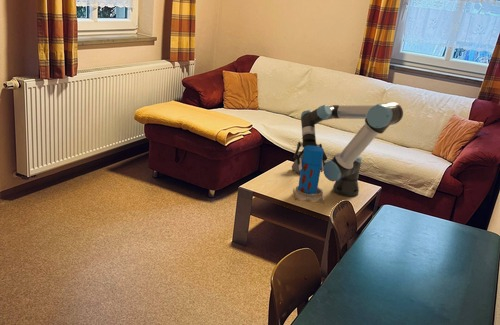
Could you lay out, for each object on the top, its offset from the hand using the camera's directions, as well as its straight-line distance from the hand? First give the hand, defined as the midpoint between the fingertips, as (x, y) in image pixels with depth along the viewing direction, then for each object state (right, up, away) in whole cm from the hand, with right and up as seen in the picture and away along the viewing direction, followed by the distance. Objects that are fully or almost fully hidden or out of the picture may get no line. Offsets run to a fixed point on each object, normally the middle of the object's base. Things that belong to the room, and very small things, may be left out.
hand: (311, 170), depth 268 cm
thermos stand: (-1, -15, +8) cm, 16 cm away
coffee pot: (-1, -3, +41) cm, 41 cm away
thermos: (-1, -11, +7) cm, 13 cm away
